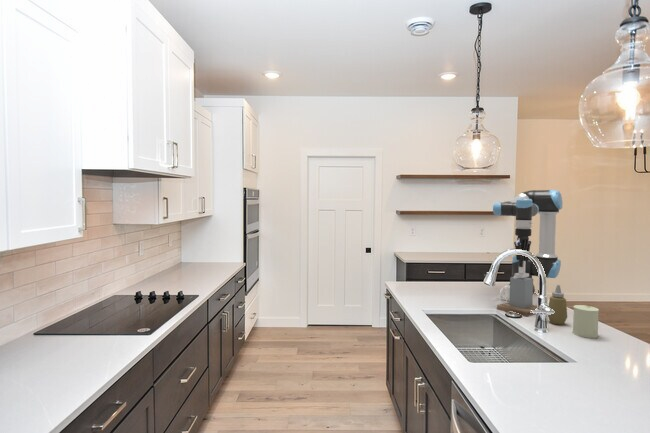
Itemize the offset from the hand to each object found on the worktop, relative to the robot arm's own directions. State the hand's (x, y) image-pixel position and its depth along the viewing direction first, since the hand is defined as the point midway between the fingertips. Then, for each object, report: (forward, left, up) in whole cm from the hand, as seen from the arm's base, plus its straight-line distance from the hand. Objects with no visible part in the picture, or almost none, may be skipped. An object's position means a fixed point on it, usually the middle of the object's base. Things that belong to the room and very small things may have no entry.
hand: (521, 273), depth 200 cm
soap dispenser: (0, 0, -18) cm, 18 cm away
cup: (-14, -15, -20) cm, 29 cm away
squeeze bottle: (+7, +21, -20) cm, 30 cm away
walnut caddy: (0, 0, -20) cm, 20 cm away
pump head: (+2, 0, -10) cm, 10 cm away
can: (+13, +35, -20) cm, 42 cm away
